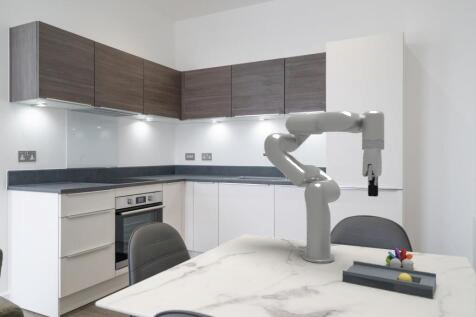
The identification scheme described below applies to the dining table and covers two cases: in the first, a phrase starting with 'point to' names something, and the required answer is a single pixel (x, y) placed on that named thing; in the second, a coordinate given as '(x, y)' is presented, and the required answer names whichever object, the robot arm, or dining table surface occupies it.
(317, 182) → the robot arm
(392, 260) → the rainbow white-lobed toy
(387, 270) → the tray
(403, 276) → the ball
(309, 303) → the dining table surface
